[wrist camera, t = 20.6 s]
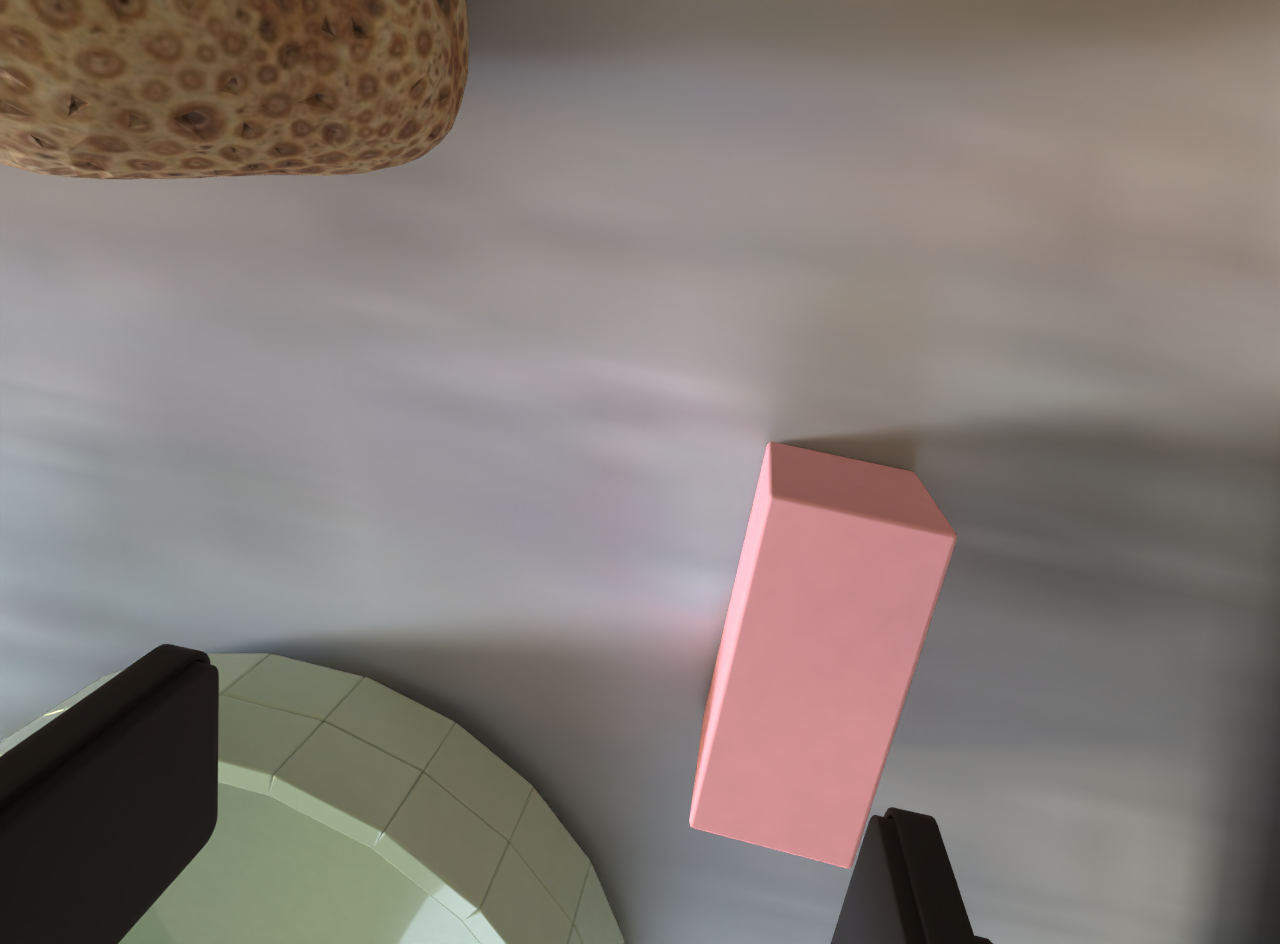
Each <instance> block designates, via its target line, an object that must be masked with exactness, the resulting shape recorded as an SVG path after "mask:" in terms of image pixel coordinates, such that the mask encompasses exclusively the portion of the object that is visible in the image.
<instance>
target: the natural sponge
mask: <svg viewBox="0 0 1280 944" xmlns="http://www.w3.org/2000/svg"><path fill="white" fill-rule="evenodd" d="M468 59H469V24H468V16H467V8H466V0H0V163H2V164H5V165H8V166H11V167H16V168H20V169H24V170H28V171H32V172H36V173H40V174H47V175H55V176H63V177H76V178H96V179H139V178H148V179H171V178H204V177H217V176H246V175H320V176H327V175H344V174H356V173H366V172H370V171H375V170H379V169H384V168H389V167H393V166H398V165H402V164H405V163H407V162H410V161H413V160H415V159H418V158H420V157H421V156H423V155H424V154H426V153H427V152H429V151H430V150H431V149H432V148H434V147H435V146H436V145H437V144H439V143H440V142H441V141H442V140H443V138H444V137H445V136H446V135H447V134H448V132H449V131H450V130H451V129H452V126H453V124H454V121H455V118H456V116H457V113H458V110H459V107H460V105H461V102H462V98H463V94H464V89H465V85H466V80H467V75H468Z"/></svg>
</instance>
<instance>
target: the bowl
mask: <svg viewBox="0 0 1280 944" xmlns="http://www.w3.org/2000/svg"><path fill="white" fill-rule="evenodd" d="M206 654H208V656H209V658H210V663H211V665H214V666H216V667H217V669H218V673H219V715H218V816H217V822H216V826H215V829H214V831H213V834H212V836H211V837H210V839H209V841H208V842H207V843H206V845H205V846H204V847H203V848H202V850H201V851H200V852H199V853H198V854H197V855H196V856H195V857H194V859H193V860H192V861H191V862H190V863H189V864H188V865H187V866H186V868H185V869H184V870H183V871H182V872H181V873H180V874H179V876H178V877H177V878H176V879H175V880H174V881H173V882H172V883H171V885H170V886H169V887H168V888H167V889H166V890H165V891H164V892H163V894H162V895H161V896H160V897H159V898H158V899H157V900H156V901H155V903H154V904H153V905H152V906H151V907H150V908H149V909H148V911H147V912H146V913H145V914H144V915H143V916H142V917H141V918H140V920H139V921H138V922H137V923H136V924H135V925H134V926H133V927H132V929H131V930H130V931H129V932H128V933H127V934H126V935H125V936H124V938H123V939H122V940H121V941H120V942H119V943H118V944H625V943H624V938H623V936H622V933H621V931H620V929H619V926H618V924H617V922H616V919H615V917H614V914H613V912H612V910H611V907H610V905H609V903H608V900H607V898H606V896H605V893H604V891H603V888H602V886H601V884H600V881H599V879H598V877H597V874H596V872H595V870H594V867H593V865H592V863H590V860H589V858H588V857H587V856H586V854H585V853H584V852H583V851H582V849H581V848H580V847H579V845H578V844H577V843H576V841H575V840H574V839H573V837H572V836H571V835H570V834H569V832H568V831H567V830H566V828H565V827H564V826H563V824H562V823H561V822H560V821H559V819H558V818H557V817H556V815H555V814H554V813H553V811H552V810H551V809H550V807H549V806H548V805H547V804H546V802H545V801H544V800H543V798H542V797H541V796H540V794H539V793H538V792H537V790H536V789H535V788H532V787H533V786H532V784H530V783H529V782H528V781H527V780H526V779H524V778H523V777H522V776H521V775H519V774H518V773H517V772H516V771H515V770H513V769H512V768H511V767H510V766H508V765H507V764H506V763H505V762H504V761H502V760H501V759H500V758H499V757H498V756H496V755H495V754H494V753H493V752H491V751H490V750H489V749H488V748H487V747H485V746H484V745H483V744H482V743H481V742H479V741H478V740H477V739H476V738H474V737H473V736H472V735H471V734H470V733H468V732H467V731H466V730H465V729H464V728H462V727H461V726H460V725H459V724H457V723H455V722H454V721H453V720H451V719H449V718H447V717H445V716H443V715H441V714H439V713H437V712H435V711H433V710H431V709H429V708H427V707H425V706H423V705H421V704H419V703H417V702H415V701H413V700H411V699H409V698H407V697H405V696H404V695H402V694H400V693H398V692H396V691H394V690H392V689H390V688H388V687H386V686H384V685H382V684H380V683H378V682H376V681H374V680H372V679H370V678H368V677H365V678H363V677H362V676H360V675H356V674H352V673H348V672H344V671H340V670H336V669H332V668H328V667H324V666H320V665H316V664H312V663H308V662H304V661H300V660H296V659H292V658H288V657H284V656H280V655H276V654H271V655H270V654H269V653H206ZM122 671H123V670H122ZM122 671H118V672H115V673H112V674H108V675H105V676H104V677H101V678H100V679H98V680H97V681H95V682H93V683H92V684H90V685H89V686H87V687H86V688H84V689H83V690H81V691H79V692H78V693H76V694H75V695H73V696H72V697H70V698H68V699H67V700H65V701H64V702H62V703H61V704H59V705H58V706H56V707H54V708H53V709H51V710H50V711H48V712H47V713H45V714H44V715H42V716H41V717H39V718H37V719H36V720H34V721H33V722H31V723H29V724H28V725H26V726H25V727H23V728H22V729H20V730H19V731H17V732H15V733H14V734H12V735H11V736H9V737H8V738H6V739H5V740H3V741H1V742H0V756H2V755H3V754H5V753H6V752H7V751H9V750H10V749H12V748H13V747H15V746H16V745H17V744H19V743H20V742H22V741H23V740H25V739H26V738H27V737H29V736H30V735H32V734H33V733H35V732H36V731H37V730H39V729H40V728H42V727H43V726H45V725H46V724H48V723H49V722H50V721H52V720H53V719H55V718H56V717H58V716H59V715H60V714H62V713H63V712H65V711H66V710H68V709H69V708H70V707H72V706H73V705H75V704H76V703H78V702H79V701H80V700H82V699H83V698H85V697H86V696H88V695H89V694H91V693H92V692H93V691H95V690H96V689H98V688H99V687H101V686H102V685H103V684H105V683H106V682H108V681H109V680H111V679H112V678H113V677H115V676H116V675H118V674H119V673H121V672H122Z"/></svg>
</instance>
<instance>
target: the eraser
mask: <svg viewBox="0 0 1280 944" xmlns="http://www.w3.org/2000/svg"><path fill="white" fill-rule="evenodd" d="M956 540H957V534H956V533H955V531H954V530H953V528H952V527H951V525H950V524H949V522H948V521H947V520H946V518H945V517H944V515H943V514H942V512H941V511H940V509H939V508H938V506H937V505H936V503H935V502H934V500H933V499H932V497H931V496H930V494H929V493H928V491H927V490H926V488H925V487H924V486H923V484H922V483H921V481H920V480H919V478H918V477H917V475H916V474H915V473H914V472H912V471H908V470H903V469H898V468H893V467H889V466H884V465H879V464H874V463H870V462H865V461H860V460H856V459H851V458H846V457H841V456H837V455H832V454H827V453H823V452H818V451H813V450H808V449H804V448H799V447H794V446H789V445H785V444H780V443H775V442H769V443H768V445H767V447H766V452H765V456H764V460H763V464H762V469H761V473H760V477H759V481H758V486H757V490H756V494H755V498H754V503H753V507H752V511H751V515H750V520H749V524H748V528H747V532H746V537H745V541H744V545H743V549H742V554H741V558H740V562H739V566H738V570H737V575H736V579H735V583H734V587H733V592H732V596H731V600H730V604H729V609H728V613H727V617H726V621H725V626H724V630H723V634H722V638H721V643H720V647H719V651H718V655H717V660H716V664H715V668H714V672H713V677H712V681H711V685H710V689H709V694H708V698H707V702H706V706H705V711H704V716H703V723H702V731H701V738H700V745H699V753H698V760H697V768H696V775H695V783H694V790H693V797H692V805H691V812H690V820H689V823H690V826H691V827H692V828H694V829H698V830H702V831H706V832H710V833H714V834H717V835H721V836H725V837H729V838H733V839H736V840H740V841H744V842H748V843H752V844H756V845H759V846H763V847H767V848H771V849H775V850H779V851H782V852H786V853H790V854H794V855H798V856H801V857H805V858H809V859H813V860H817V861H821V862H824V863H828V864H832V865H836V866H840V867H844V868H851V867H852V865H853V862H854V859H855V856H856V853H857V849H858V846H859V843H860V840H861V837H862V834H863V831H864V828H865V824H866V821H867V818H868V815H869V812H870V809H871V806H872V803H873V799H874V796H875V793H876V790H877V787H878V784H879V781H880V778H881V774H882V771H883V768H884V765H885V762H886V759H887V756H888V753H889V750H890V746H891V743H892V740H893V737H894V734H895V731H896V728H897V725H898V721H899V718H900V715H901V712H902V709H903V706H904V703H905V700H906V696H907V693H908V690H909V687H910V684H911V681H912V678H913V675H914V671H915V668H916V665H917V662H918V659H919V656H920V653H921V650H922V646H923V643H924V640H925V637H926V634H927V631H928V628H929V625H930V622H931V618H932V615H933V612H934V609H935V606H936V603H937V600H938V597H939V593H940V590H941V587H942V584H943V581H944V578H945V575H946V572H947V568H948V565H949V562H950V559H951V556H952V553H953V550H954V547H955V543H956Z"/></svg>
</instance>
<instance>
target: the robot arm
mask: <svg viewBox="0 0 1280 944" xmlns="http://www.w3.org/2000/svg"><path fill="white" fill-rule="evenodd" d="M218 715H219V673H218V669H217V667H216V666H214V665H211V663H210V658H209V656H208V654H206V653H204V652H202V651H197V650H193V649H188V648H184V647H179V646H175V645H171V644H163V645H161V646H159V647H157V648H155V649H154V650H152V651H151V652H149V653H148V654H146V655H145V656H144V657H142V658H141V659H139V660H138V661H136V662H135V663H133V664H132V665H131V666H129V667H128V668H126V669H125V670H123V671H122V672H121V673H119V674H118V675H116V676H115V677H113V678H112V679H111V680H109V681H108V682H106V683H105V684H103V685H102V686H101V687H99V688H98V689H96V690H95V691H93V692H92V693H91V694H89V695H88V696H86V697H85V698H83V699H82V700H80V701H79V702H78V703H76V704H75V705H73V706H72V707H70V708H69V709H68V710H66V711H65V712H63V713H62V714H60V715H59V716H58V717H56V718H55V719H53V720H52V721H50V722H49V723H48V724H46V725H45V726H43V727H42V728H40V729H39V730H37V731H36V732H35V733H33V734H32V735H30V736H29V737H27V738H26V739H25V740H23V741H22V742H20V743H19V744H17V745H16V746H15V747H13V748H12V749H10V750H9V751H7V752H6V753H5V754H3V755H2V756H0V944H118V943H119V942H120V941H121V940H122V939H123V938H124V936H125V935H126V934H127V933H128V932H129V931H130V930H131V929H132V927H133V926H134V925H135V924H136V923H137V922H138V921H139V920H140V918H141V917H142V916H143V915H144V914H145V913H146V912H147V911H148V909H149V908H150V907H151V906H152V905H153V904H154V903H155V901H156V900H157V899H158V898H159V897H160V896H161V895H162V894H163V892H164V891H165V890H166V889H167V888H168V887H169V886H170V885H171V883H172V882H173V881H174V880H175V879H176V878H177V877H178V876H179V874H180V873H181V872H182V871H183V870H184V869H185V868H186V866H187V865H188V864H189V863H190V862H191V861H192V860H193V859H194V857H195V856H196V855H197V854H198V853H199V852H200V851H201V850H202V848H203V847H204V846H205V845H206V843H207V842H208V841H209V839H210V837H211V836H212V834H213V831H214V829H215V826H216V822H217V816H218ZM831 944H993V943H992V942H991V941H990V940H989V939H987V938H982V937H978V936H974V934H973V931H972V928H971V925H970V922H969V919H968V916H967V913H966V909H965V906H964V903H963V900H962V897H961V894H960V891H959V888H958V885H957V882H956V879H955V876H954V873H953V870H952V867H951V864H950V861H949V858H948V855H947V852H946V849H945V846H944V843H943V840H942V837H941V834H940V831H939V828H938V825H937V823H936V821H935V819H934V818H933V817H932V816H928V815H924V814H919V813H915V812H911V811H906V810H902V809H897V808H893V807H891V808H888V810H887V811H886V813H885V815H884V817H881V816H877V815H873V816H872V817H871V819H870V821H869V824H868V827H867V830H866V833H865V837H864V840H863V843H862V846H861V849H860V852H859V856H858V859H857V862H856V865H855V868H854V871H853V875H852V878H851V881H850V884H849V887H848V891H847V894H846V897H845V900H844V903H843V906H842V910H841V913H840V916H839V919H838V922H837V925H836V929H835V932H834V935H833V938H832V941H831Z"/></svg>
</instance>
